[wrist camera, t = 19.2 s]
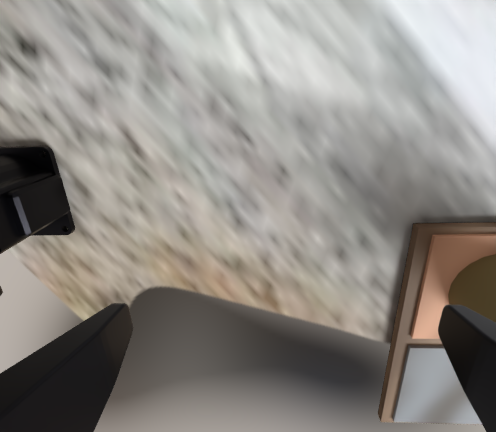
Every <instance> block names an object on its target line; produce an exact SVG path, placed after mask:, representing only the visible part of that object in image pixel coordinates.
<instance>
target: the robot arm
mask: <svg viewBox="0 0 496 432" xmlns="http://www.w3.org/2000/svg"><path fill="white" fill-rule="evenodd" d="M43 151H44V152H45V153H46V156H44V154H43ZM65 226H66V227H68V229H66V227H65ZM74 230H75V226H74V222H73V219H72V215H71V212H70V207H69V203H68V200H67V196H66V193H65V189H64V186H63V182H62V179H61V177H60V173H59V170H58V166H57V163H56V159H55V156H54V153H53V151H52V149H51V148H49V147H48V146H23V147H0V254H1V253H3V252H4V251H6V250H8V249H9V248H11V247H13V246H14V245H16V244H17V243H19V242H21V241H22V240H24V239H26V238H27V237H29V236H31V235H69V234H71V233H72V232H73V231H74ZM2 293H3V291H2V289H1V286H0V295H1V294H2ZM132 331H133V324H132V320H131V315H130V312H129V307H128V305H127V304H125V303H113V304H111V305H109V306H107V307H106V308H104V309H103V310H101V311H99V312H98V313H96V314H95V315H93V316H91V317H90V318H88V319H87V320H85V321H84V322H82V323H80V324H79V325H77V326H76V327H74V328H72V329H71V330H69V331H68V332H66V333H64V334H63V335H62V336H60V337H58V338H56V339H55V340H54V341H52V342H50V343H48V344H47V345H45V346H44V347H42V348H40V349H39V350H37V351H36V352H34V353H33V354H31V355H29V356H28V357H26V358H24V359H23V360H21V361H20V362H18V363H16V364H15V365H13V366H12V367H10V368H8V369H7V370H5V371H4V372H2V373H1V374H0V432H93V431H94V430H95V427H96V425H97V423H98V421H99V418H100V416H101V414H102V412H103V410H104V408H105V405H106V403H107V401H108V399H109V396H110V394H111V392H112V389H113V387H114V385H115V382H116V380H117V377H118V374H119V371H120V368H121V365H122V362H123V359H124V356H125V353H126V350H127V347H128V344H129V341H130V338H131V335H132ZM438 334H439V337H440V340H441V342H442V344H443V346H444V349H445V351H446V353H447V355H448V358H449V360H450V362H451V364H452V367H453V369H454V371H455V373H456V375H457V378H458V380H459V382H460V384H461V386H462V388H463V390H464V392H465V394H466V396H467V398H468V400H469V402H470V404H471V405H472V407H473V409H474V411H475V412H476V414H477V416H478V418H479V419H480V421H481V423H482V425H483V426H484V428H485V430H486V432H496V322H494V321H492V320H490V319H488V318H486V317H484V316H482V315H480V314H479V313H477V312H475V311H473V310H471V309H469V308H467V307H465V306H463V305H445V306H444V308H443V310H442V314H441V318H440V322H439V326H438Z"/></svg>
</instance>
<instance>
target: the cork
mask: <svg viewBox="0 0 496 432" xmlns="http://www.w3.org/2000/svg"><path fill="white" fill-rule="evenodd" d="M448 297H449V305H463V306H465V307H467V308H469V309H471V310H473V311H475V312H477V313H479V314H480V315H482V316H484V317H486V318H488V319H490V320H492V321H494V322H496V254H494V255H490V256H486V257H483V258H481V259H479V260H477V261H475V262H473V263H471V264H469V265H468V266H467V267H465V268H464V269H463V270H462V271H461V272H459V273H458V275H457V276H456V278H455V279H454V280H453V282H452V283H451V286H450V290H449V293H448Z"/></svg>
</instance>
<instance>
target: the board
mask: <svg viewBox="0 0 496 432" xmlns="http://www.w3.org/2000/svg"><path fill="white" fill-rule="evenodd" d="M494 254H496V222H484V223H416V224H413V228H412V234H411V239H410V244H409V250H408V255H407V260H406V266H405V271H404V276H403V282H402V287H401V292H400V298H399V303H398V308H397V314H396V319H395V324H394V330H393V335H392V340H391V346H390V351H389V356H388V362H387V367H386V372H385V378H384V383H383V388H382V394H381V400H380V405H379V410H378V415H379V418H380V421H381V422H402V423H436V424H437V423H438V424H475V425H476V424H477V425H482V423H481V421H480V419H479V418H478V416H477V414H476V412H475V411H474V409H473V407H472V405H471V404H470V402H469V400H468V398H467V396H466V394H465V392H464V390H463V388H462V386H461V384H460V382H459V380H458V378H457V375H456V373H455V371H454V369H453V367H452V364H451V362H450V360H449V358H448V355H447V353H446V351H445V349H444V346H443V344H442V342H441V340H440V337H439V334H438V326H439V322H440V318H441V314H442V310H443V308H444V306H445V305H449V297H448V293H449V290H450V286H451V283H452V282H453V280H454V279H455V278H456V276H457V275H458V273H459V272H461V271H462V270H463V269H464V268H465V267H467V266H468V265H469V264H471V263H473V262H475V261H477V260H479V259H481V258H483V257H486V256H490V255H494Z"/></svg>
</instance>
